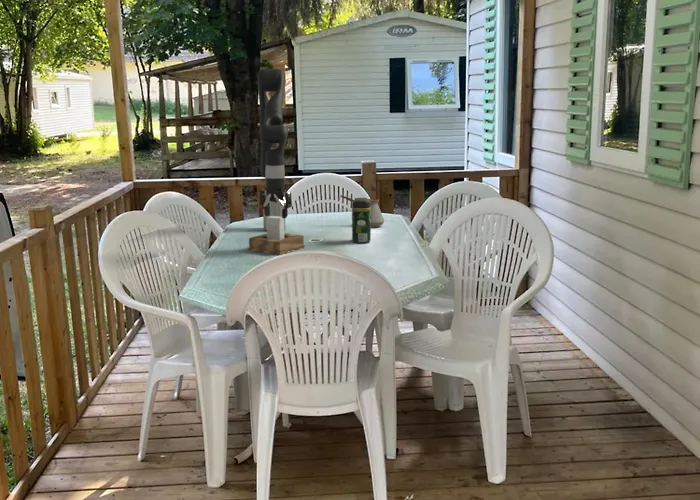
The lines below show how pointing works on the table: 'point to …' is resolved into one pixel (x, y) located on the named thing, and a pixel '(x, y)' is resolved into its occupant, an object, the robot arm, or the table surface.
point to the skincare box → (275, 227)
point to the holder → (276, 244)
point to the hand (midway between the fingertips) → (276, 216)
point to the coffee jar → (361, 220)
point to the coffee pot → (373, 212)
